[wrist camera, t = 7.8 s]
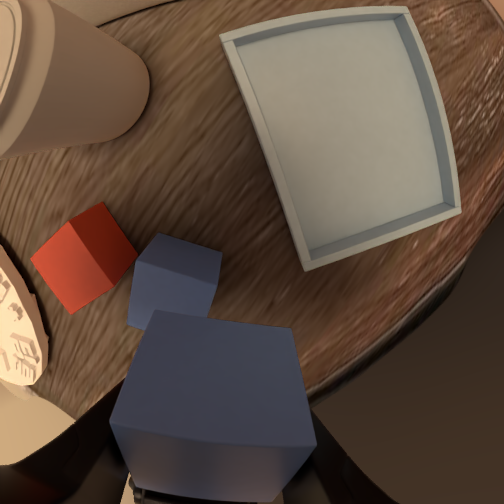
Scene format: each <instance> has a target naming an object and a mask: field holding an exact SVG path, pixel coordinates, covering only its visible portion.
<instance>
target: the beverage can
mask: <svg viewBox="0 0 504 504" xmlns="http://www.w3.org/2000/svg"><path fill="white" fill-rule="evenodd" d="M149 86H150V82H149V74H148V71H147V68H146V66H145V64H144V62H143V61H142V59H141V58H140V57H139V56H138V55H137V54H136V53H134V52H133V51H132V50H130V49H129V48H127V47H126V46H124V45H123V44H121V43H120V42H118V41H117V40H115V39H114V38H112V37H111V36H109V35H108V34H106V33H104V32H103V31H101V30H100V29H98V28H96V27H95V26H93V25H92V24H90V23H88V22H87V21H85V20H83V19H82V18H80V17H78V16H77V15H75V14H73V13H72V12H70V11H68V10H66V9H64V8H63V7H61V6H59V5H57V4H55V3H54V2H52V1H50V0H0V160H4V159H9V158H13V157H17V156H22V155H26V154H31V153H36V152H42V151H47V150H53V149H59V148H65V147H71V146H78V145H85V144H93V143H101V142H106V141H110V140H113V139H115V138H117V137H119V136H120V135H122V134H124V133H125V132H126V131H127V130H128V129H130V128H131V127H132V126H133V124H134V123H135V122H136V121H137V119H138V118H139V117H140V115H141V113H142V111H143V109H144V107H145V105H146V102H147V99H148V95H149Z"/></svg>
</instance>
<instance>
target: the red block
mask: <svg viewBox="0 0 504 504" xmlns="http://www.w3.org/2000/svg"><path fill="white" fill-rule="evenodd" d="M137 256H138V253H137V252H136V251H135V249H134V248H133V246H132V245H131V244H130V242H129V241H128V239H127V238H126V236H125V235H124V233H123V232H122V230H121V229H120V228H119V226H118V225H117V223H116V222H115V220H114V219H113V217H112V215H111V214H110V212H109V211H108V209H107V208H106V206H105V205H104V203H103V202H101V203H99V204H97V205H95V206H93V207H92V208H90V209H88V210H86V211H85V212H83V213H81V214H79V215H78V216H76V217H74V218H72V219H71V220H69V221H68V222H67V223H66V224H65V225H63V226H62V227H61V228H60V229H59V230H58V231H57V232H56V233H55V234H54V235H53V236H52V237H51V238H50V239H49V240H48V241H47V242H46V243H45V244H44V245H43V246H42V247H41V248H40V249H39V250H38V251H37V252H36V253H35V254H34V255H33V256H32V257H31V259H30V260H31V261H32V263H33V264H34V266H35V267H36V269H37V270H38V271H39V273H40V274H41V276H42V277H43V279H44V280H45V281H46V283H47V284H48V286H49V287H50V288H51V290H52V291H53V292H54V294H55V295H56V296H57V298H58V299H59V300H60V302H61V303H62V304H63V305H64V307H65V308H66V309H67V310H68V312H69V313H70V314H71V315H72V314H73V313H75V312H76V311H78V310H79V309H81V308H82V307H84V306H85V305H87V304H88V303H90V302H91V301H93V300H94V299H96V298H97V297H99V296H101V295H102V294H104V293H105V292H107V291H108V290H110V289H111V288H113V287H114V286H115V285H116V284H117V282H118V281H119V280H120V278H121V277H122V276H123V274H124V273H125V272H126V271H127V269H128V268H129V267H130V265H131V264H132V263H133V262H134V260H135V259H136V258H137Z"/></svg>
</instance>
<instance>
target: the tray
mask: <svg viewBox="0 0 504 504" xmlns="http://www.w3.org/2000/svg"><path fill="white" fill-rule="evenodd" d="M219 38H220V42H221V46H222V49H223V51H224V53H225V56H226V58H227V61H228V63H229V65H230V68H231V70H232V73H233V75H234V78H235V80H236V83H237V85H238V88H239V90H240V93H241V95H242V98H243V101H244V103H245V106H246V108H247V111H248V114H249V116H250V119H251V122H252V124H253V127H254V129H255V132H256V135H257V138H258V140H259V143H260V146H261V148H262V151H263V154H264V157H265V160H266V162H267V165H268V168H269V171H270V174H271V176H272V179H273V182H274V185H275V188H276V191H277V194H278V197H279V200H280V202H281V205H282V208H283V211H284V214H285V217H286V220H287V223H288V226H289V229H290V233H291V236H292V239H293V242H294V245H295V248H296V251H297V254H298V257H299V260H300V262H301V264H302V267H303V269H304V271H305V272H306V271H309V270H312V269H315V268H318V267H321V266H323V265H326V264H329V263H332V262H335V261H337V260H340V259H343V258H346V257H349V256H351V255H354V254H357V253H360V252H362V251H365V250H368V249H371V248H373V247H376V246H379V245H381V244H384V243H387V242H389V241H392V240H395V239H397V238H400V237H402V236H405V235H408V234H410V233H413V232H415V231H418V230H420V229H423V228H425V227H428V226H431V225H433V224H436V223H438V222H441V221H443V220H446V219H448V218H450V217H453V216H455V215H458V214H460V213H461V206H460V205H461V202H460V191H459V183H458V175H457V168H456V161H455V155H454V150H453V144H452V139H451V134H450V129H449V125H448V121H447V116H446V112H445V108H444V105H443V101H442V97H441V94H440V90H439V87H438V84H437V81H436V78H435V74H434V71H433V69H432V66H431V63H430V60H429V57H428V55H427V52H426V49H425V47H424V44H423V42H422V39H421V37H420V35H419V32H418V30H417V28H416V25H415V23H414V21H413V19H412V17H411V15H410V14H409V10H408V8H407V7H406V6H368V7H351V8H340V9H331V10H323V11H316V12H309V13H303V14H298V15H292V16H287V17H282V18H278V19H273V20H269V21H265V22H261V23H257V24H253V25H249V26H246V27H242V28H239V29H236V30H232V31H229V32H226V33H223V34H220V35H219Z"/></svg>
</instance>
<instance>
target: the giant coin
mask: <svg viewBox="0 0 504 504" xmlns="http://www.w3.org/2000/svg"><path fill="white" fill-rule="evenodd" d="M48 338H49V336H47V335H46V334H45V332H44V328H43V324H42V321H41V316H40V312H39V309H38V305H37V302H36V298H35V294H30V293H29V291H28V289H27V287H26V284H25V282H24V280H23V278H22V277H21V275H20V274H19V272H18V271H17V269H16V268H15V266H14V265H13V263H12V262H11V260H10V259H9V257H8V255H7V254H6V252H5V251H4V249H3V247H2V246H1V245H0V378H1V379H3V380H5V381H8V382H11V383H14V384H16V385H19V386H21V385H31V384H34V383H35V382H36V380H37V379H38V378H39V377H40V376H41V374H42V373H43V371H44V370H45V368H46V367H47V363H48V342H47V341H48Z"/></svg>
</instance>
